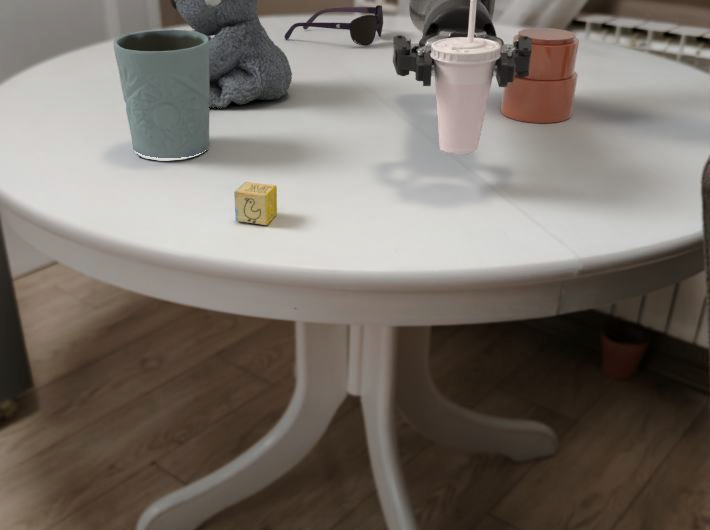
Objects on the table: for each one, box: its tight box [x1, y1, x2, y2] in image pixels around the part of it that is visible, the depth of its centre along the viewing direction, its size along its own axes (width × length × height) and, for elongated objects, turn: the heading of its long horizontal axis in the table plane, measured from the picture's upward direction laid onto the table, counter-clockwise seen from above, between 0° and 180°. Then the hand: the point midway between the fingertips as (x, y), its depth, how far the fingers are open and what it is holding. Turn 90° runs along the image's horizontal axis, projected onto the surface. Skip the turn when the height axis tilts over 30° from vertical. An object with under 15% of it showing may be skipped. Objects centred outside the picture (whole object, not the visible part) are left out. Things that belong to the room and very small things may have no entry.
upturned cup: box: [500, 27, 580, 124], centre depth 100 cm, size 9×9×10 cm
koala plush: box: [169, 0, 293, 109], centre depth 105 cm, size 17×18×20 cm
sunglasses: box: [284, 4, 384, 47], centre depth 138 cm, size 14×16×5 cm
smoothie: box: [430, 0, 501, 155], centre depth 75 cm, size 6×6×14 cm
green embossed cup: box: [112, 28, 210, 158], centre depth 88 cm, size 10×10×12 cm
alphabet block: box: [233, 181, 278, 226], centre depth 74 cm, size 3×3×3 cm
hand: (466, 75), depth 73 cm, fingers closed on smoothie, 6 cm apart
